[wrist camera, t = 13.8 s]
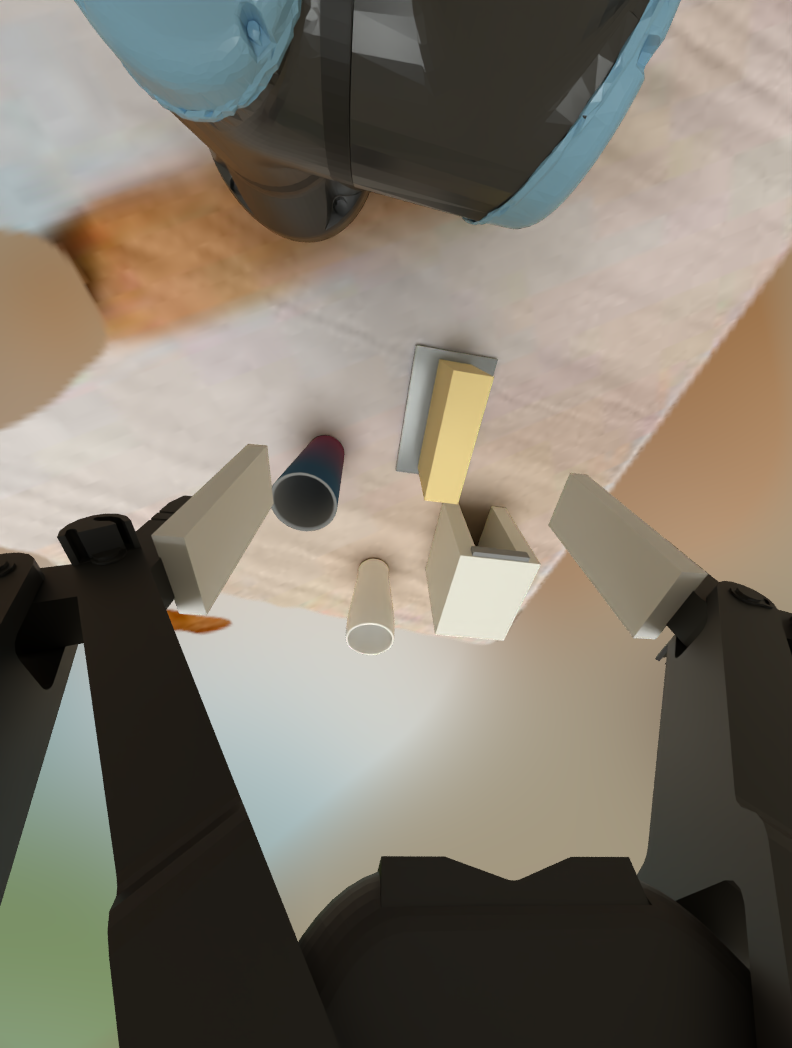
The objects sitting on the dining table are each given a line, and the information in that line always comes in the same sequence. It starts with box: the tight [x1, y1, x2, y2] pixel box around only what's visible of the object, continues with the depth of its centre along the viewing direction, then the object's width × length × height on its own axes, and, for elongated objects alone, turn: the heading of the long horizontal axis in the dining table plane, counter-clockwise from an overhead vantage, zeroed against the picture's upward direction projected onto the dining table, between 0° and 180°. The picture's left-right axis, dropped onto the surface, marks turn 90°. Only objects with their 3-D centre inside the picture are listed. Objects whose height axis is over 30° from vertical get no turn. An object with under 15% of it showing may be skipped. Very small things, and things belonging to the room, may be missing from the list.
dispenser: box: [425, 503, 541, 641], centre depth 49 cm, size 15×10×14 cm
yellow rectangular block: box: [418, 359, 494, 504], centre depth 39 cm, size 14×4×10 cm, turn 171°
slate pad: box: [396, 345, 498, 474], centre depth 44 cm, size 16×10×1 cm, turn 171°
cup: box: [271, 435, 344, 531], centre depth 40 cm, size 7×7×15 cm
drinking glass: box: [346, 559, 394, 655], centre depth 51 cm, size 7×7×15 cm
